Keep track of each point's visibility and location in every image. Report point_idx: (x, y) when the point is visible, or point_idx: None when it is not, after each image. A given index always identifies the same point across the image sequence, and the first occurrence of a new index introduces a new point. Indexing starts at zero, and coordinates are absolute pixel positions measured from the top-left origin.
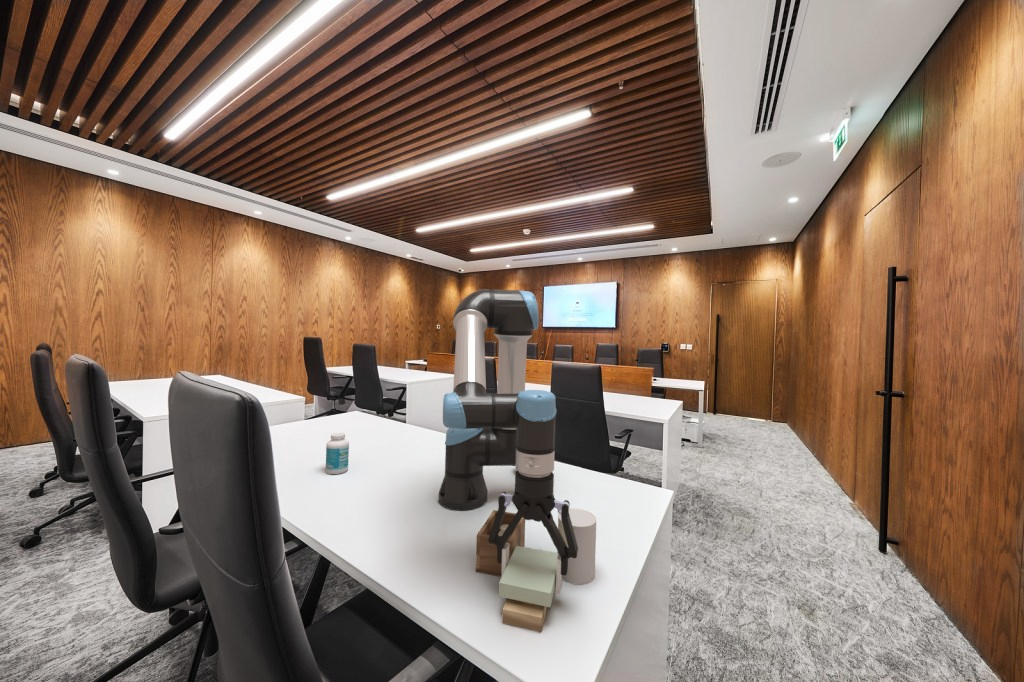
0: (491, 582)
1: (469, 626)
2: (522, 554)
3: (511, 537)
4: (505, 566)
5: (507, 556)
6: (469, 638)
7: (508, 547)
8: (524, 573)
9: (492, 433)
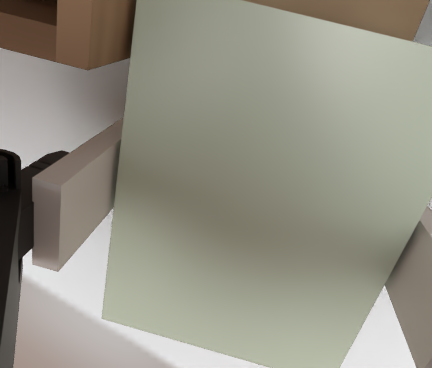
0: (89, 74)
1: (74, 276)
2: (195, 96)
3: (66, 1)
4: (107, 212)
5: (94, 193)
6: (87, 309)
7: (70, 200)
8: (212, 269)
9: None
